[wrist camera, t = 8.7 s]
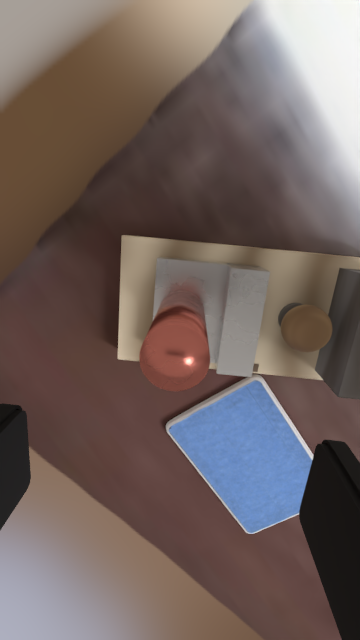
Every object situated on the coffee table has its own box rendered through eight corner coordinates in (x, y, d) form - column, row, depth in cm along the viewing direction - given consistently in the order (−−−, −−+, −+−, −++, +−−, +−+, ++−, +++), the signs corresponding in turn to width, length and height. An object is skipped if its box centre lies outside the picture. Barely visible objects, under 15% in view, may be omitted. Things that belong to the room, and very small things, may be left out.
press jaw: (260, 266, 27) (307, 292, 15) (244, 359, 29) (275, 438, 18) (158, 256, 27) (134, 275, 16) (152, 349, 29) (127, 423, 18)
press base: (369, 258, 28) (424, 266, 21) (338, 373, 32) (377, 411, 25) (126, 234, 29) (105, 236, 22) (122, 351, 32) (103, 383, 25)
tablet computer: (336, 489, 37) (341, 498, 35) (246, 529, 39) (248, 539, 38) (257, 368, 33) (260, 373, 31) (162, 421, 35) (161, 428, 34)
